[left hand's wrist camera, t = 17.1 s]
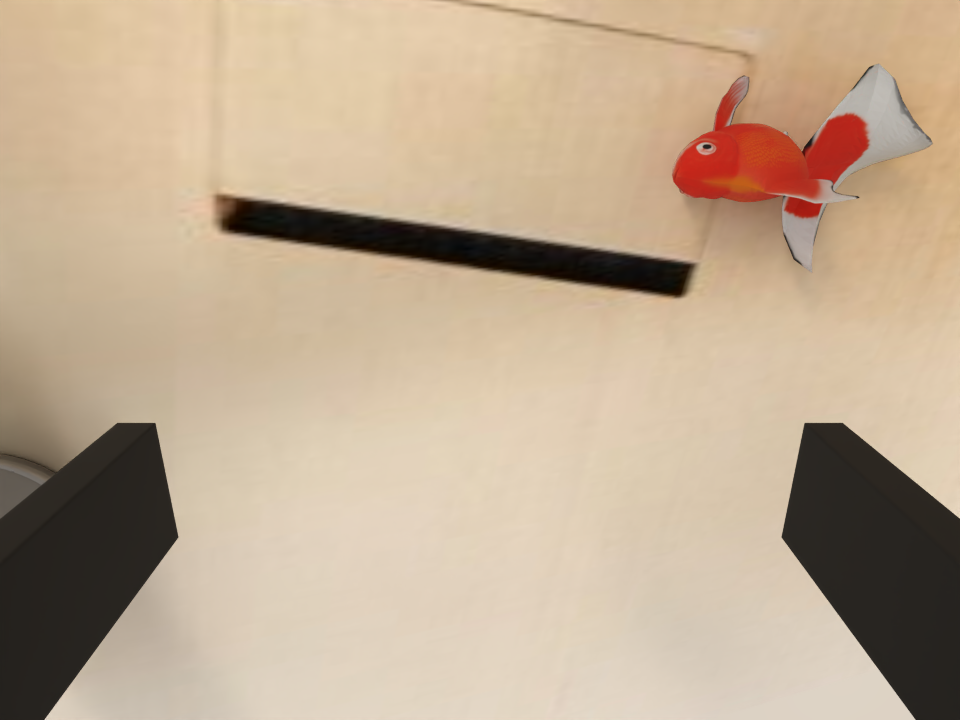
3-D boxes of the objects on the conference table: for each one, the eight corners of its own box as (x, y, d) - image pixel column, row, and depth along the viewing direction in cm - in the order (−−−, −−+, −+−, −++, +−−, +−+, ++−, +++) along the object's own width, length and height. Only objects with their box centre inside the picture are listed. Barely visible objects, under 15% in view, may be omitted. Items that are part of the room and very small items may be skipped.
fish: (712, -17, 32) (845, 58, 26) (886, 61, 40) (1024, 135, 33) (612, 170, 39) (699, 267, 32) (778, 207, 46) (876, 292, 40)
